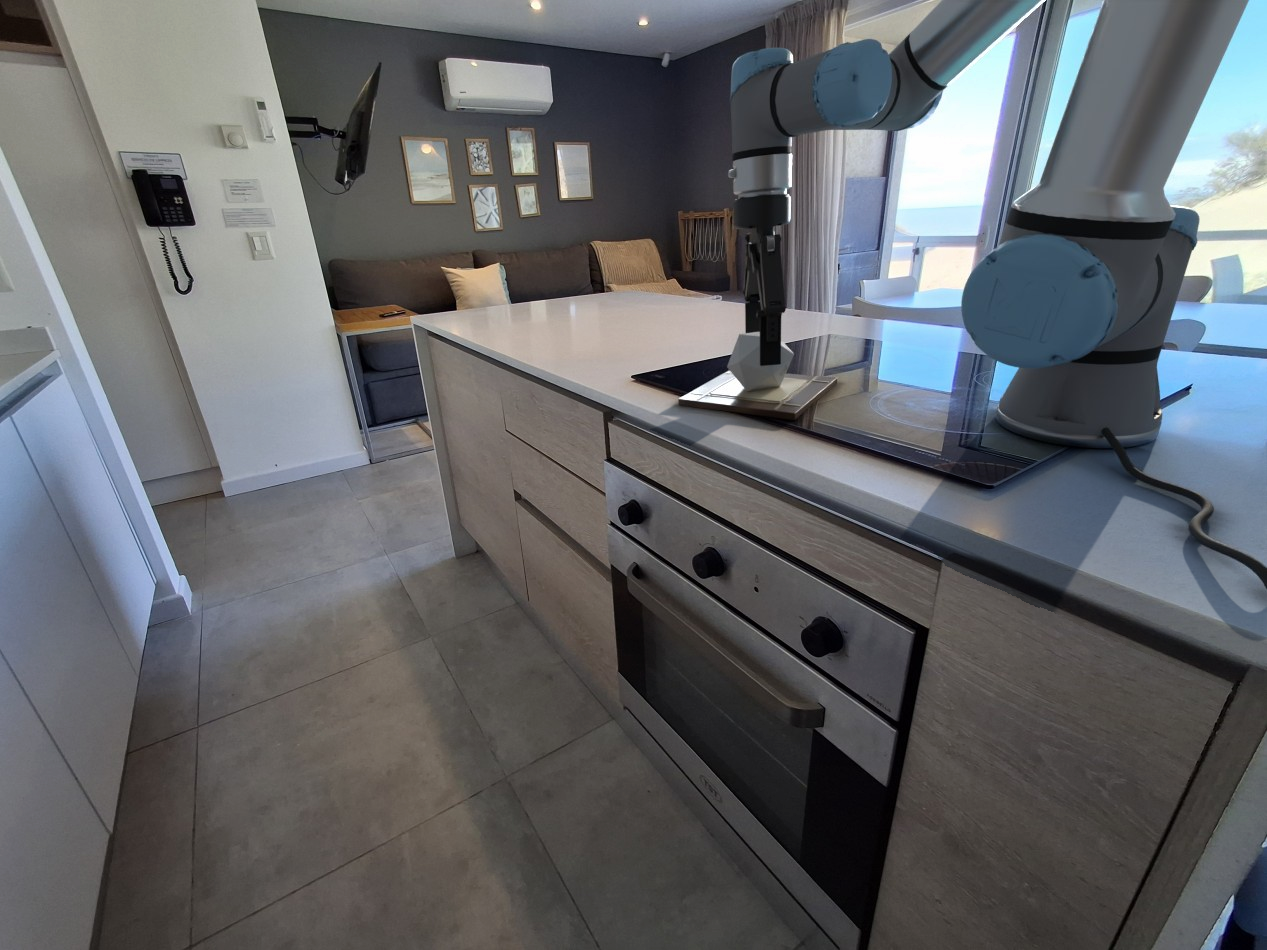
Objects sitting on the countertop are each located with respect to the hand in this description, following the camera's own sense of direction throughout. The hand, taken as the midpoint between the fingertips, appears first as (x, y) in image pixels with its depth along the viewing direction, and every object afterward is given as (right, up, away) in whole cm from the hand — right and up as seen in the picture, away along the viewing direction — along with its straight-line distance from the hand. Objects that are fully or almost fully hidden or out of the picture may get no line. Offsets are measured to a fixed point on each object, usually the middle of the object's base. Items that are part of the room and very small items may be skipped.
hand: (761, 354), depth 84 cm
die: (0, -5, +3) cm, 5 cm away
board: (0, -5, +3) cm, 6 cm away
